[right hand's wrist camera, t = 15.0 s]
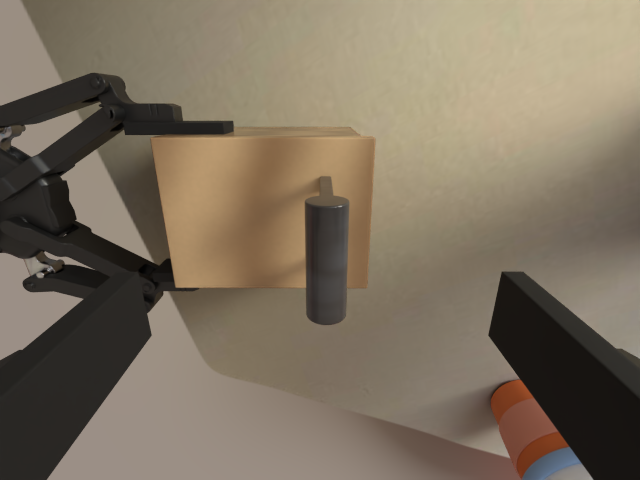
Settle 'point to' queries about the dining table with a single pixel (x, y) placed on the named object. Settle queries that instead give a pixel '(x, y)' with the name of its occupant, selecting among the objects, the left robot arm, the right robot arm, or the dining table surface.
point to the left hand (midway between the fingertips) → (235, 204)
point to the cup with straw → (533, 437)
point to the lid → (269, 213)
